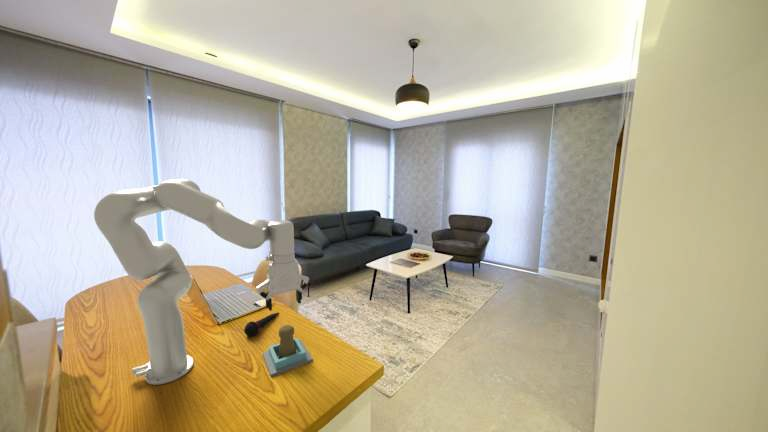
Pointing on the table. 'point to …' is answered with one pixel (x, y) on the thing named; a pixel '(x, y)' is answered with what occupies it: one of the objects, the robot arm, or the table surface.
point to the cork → (286, 341)
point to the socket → (286, 358)
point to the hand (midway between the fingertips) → (284, 305)
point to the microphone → (258, 325)
